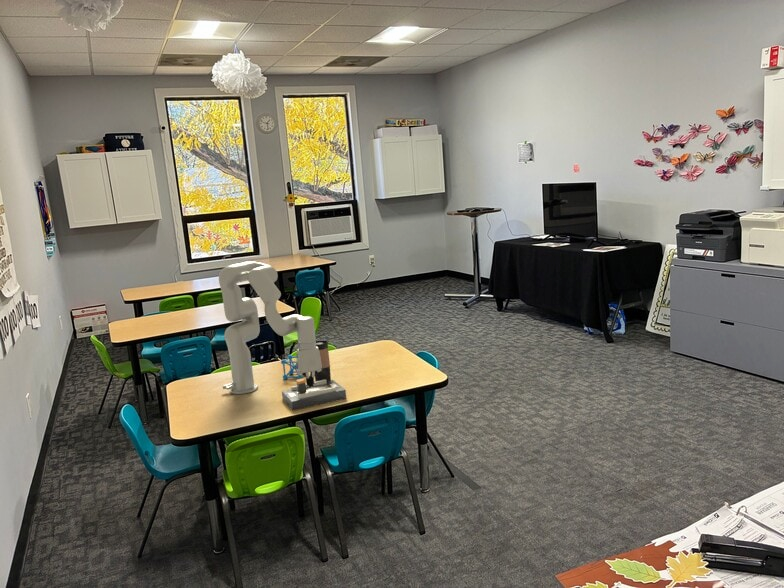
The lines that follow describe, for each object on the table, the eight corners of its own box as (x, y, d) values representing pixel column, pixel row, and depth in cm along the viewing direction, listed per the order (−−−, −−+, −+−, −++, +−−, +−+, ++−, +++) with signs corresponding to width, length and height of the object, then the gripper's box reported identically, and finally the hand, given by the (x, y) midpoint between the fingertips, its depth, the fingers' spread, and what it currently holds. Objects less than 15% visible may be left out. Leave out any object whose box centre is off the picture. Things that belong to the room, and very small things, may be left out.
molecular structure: (282, 380, 287) (279, 360, 286) (290, 373, 297) (288, 354, 295) (301, 380, 285) (299, 360, 283) (308, 373, 294) (306, 354, 293)
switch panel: (292, 410, 246) (291, 398, 245) (282, 399, 260) (281, 387, 259) (346, 398, 256) (345, 386, 255) (333, 388, 270) (332, 376, 269)
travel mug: (334, 381, 280) (330, 340, 276) (328, 386, 273) (323, 344, 269) (319, 380, 282) (315, 340, 278) (312, 386, 275) (308, 344, 271)
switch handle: (299, 393, 253) (298, 381, 252) (297, 391, 256) (296, 379, 255) (306, 392, 254) (305, 380, 253) (304, 390, 257) (303, 378, 256)
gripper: (292, 350, 247) (296, 391, 250) (326, 344, 253) (329, 385, 257) (287, 346, 254) (291, 386, 257) (321, 340, 260) (324, 380, 263)
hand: (310, 385), depth 257 cm, fingers closed
